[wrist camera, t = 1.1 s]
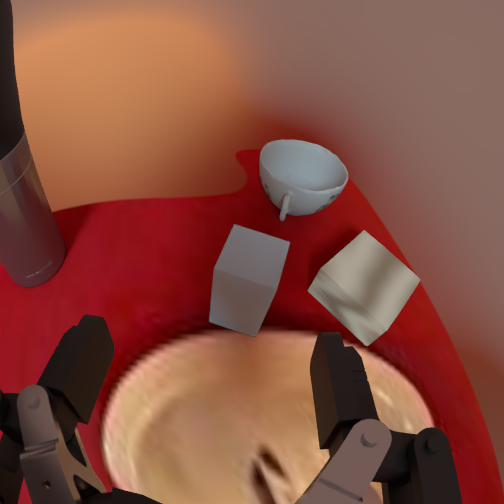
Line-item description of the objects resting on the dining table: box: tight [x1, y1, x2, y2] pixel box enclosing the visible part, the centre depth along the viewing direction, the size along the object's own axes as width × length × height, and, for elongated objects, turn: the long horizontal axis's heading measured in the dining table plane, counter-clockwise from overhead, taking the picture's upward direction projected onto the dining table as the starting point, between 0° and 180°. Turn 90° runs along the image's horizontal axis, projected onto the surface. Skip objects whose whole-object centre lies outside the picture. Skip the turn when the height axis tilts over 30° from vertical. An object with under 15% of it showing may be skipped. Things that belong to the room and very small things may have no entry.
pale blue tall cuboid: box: [209, 224, 290, 337], centre depth 29 cm, size 5×5×10 cm
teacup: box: [259, 140, 348, 221], centre depth 41 cm, size 15×12×8 cm
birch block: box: [308, 230, 420, 346], centre depth 35 cm, size 10×10×5 cm
